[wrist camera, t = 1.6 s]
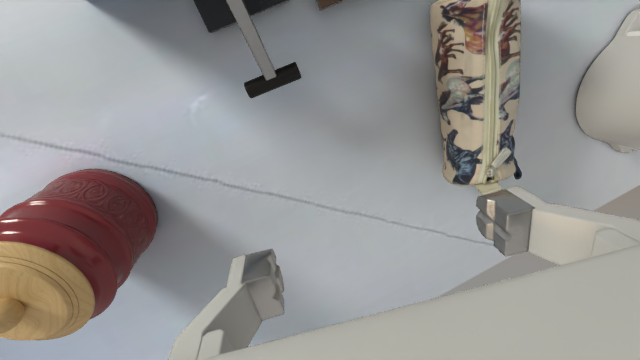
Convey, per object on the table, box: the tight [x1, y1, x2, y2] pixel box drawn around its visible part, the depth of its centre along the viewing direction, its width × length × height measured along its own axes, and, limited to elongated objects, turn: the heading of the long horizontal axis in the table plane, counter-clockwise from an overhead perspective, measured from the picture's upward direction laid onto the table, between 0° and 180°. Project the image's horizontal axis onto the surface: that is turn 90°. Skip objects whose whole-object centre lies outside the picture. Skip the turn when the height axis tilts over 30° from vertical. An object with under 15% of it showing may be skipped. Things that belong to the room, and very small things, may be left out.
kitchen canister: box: [0, 169, 158, 340], centre depth 32 cm, size 13×13×18 cm
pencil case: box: [430, 0, 522, 195], centre depth 33 cm, size 22×8×10 cm, turn 14°
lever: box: [226, 0, 301, 98], centre depth 23 cm, size 16×5×2 cm, turn 19°
